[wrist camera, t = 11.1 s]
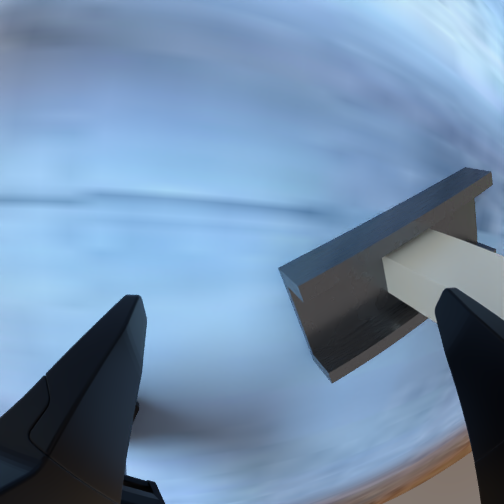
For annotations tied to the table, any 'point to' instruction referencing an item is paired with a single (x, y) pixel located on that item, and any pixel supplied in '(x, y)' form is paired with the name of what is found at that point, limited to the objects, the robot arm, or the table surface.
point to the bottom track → (373, 275)
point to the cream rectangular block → (444, 272)
